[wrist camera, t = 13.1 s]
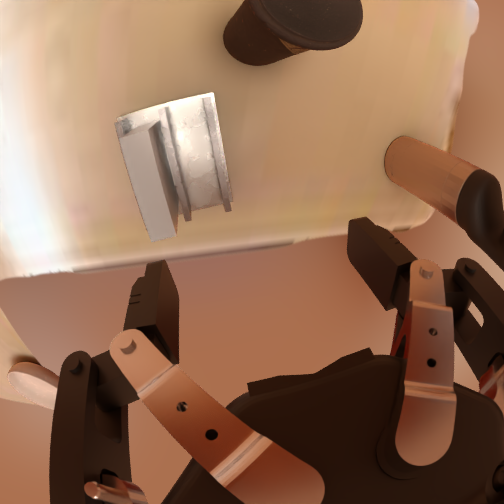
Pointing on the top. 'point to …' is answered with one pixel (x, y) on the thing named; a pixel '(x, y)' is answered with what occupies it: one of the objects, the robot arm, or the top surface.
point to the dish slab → (152, 179)
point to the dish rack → (189, 150)
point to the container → (290, 28)
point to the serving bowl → (34, 383)
